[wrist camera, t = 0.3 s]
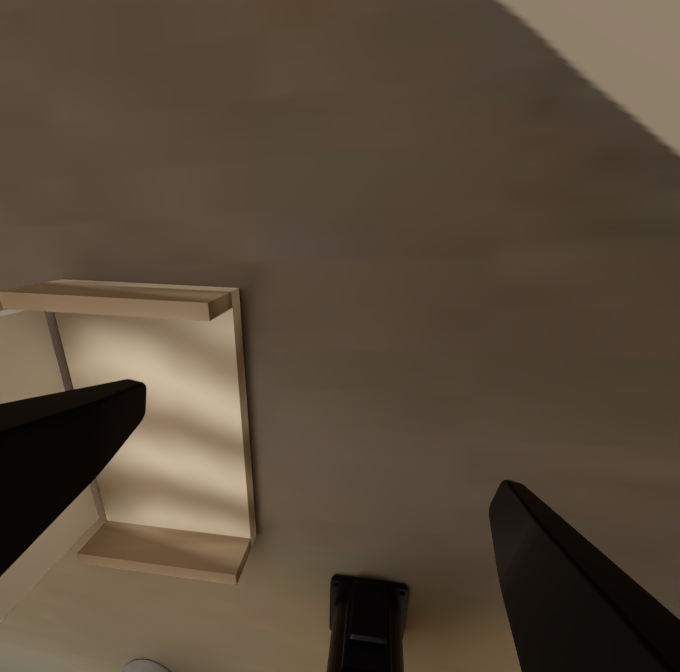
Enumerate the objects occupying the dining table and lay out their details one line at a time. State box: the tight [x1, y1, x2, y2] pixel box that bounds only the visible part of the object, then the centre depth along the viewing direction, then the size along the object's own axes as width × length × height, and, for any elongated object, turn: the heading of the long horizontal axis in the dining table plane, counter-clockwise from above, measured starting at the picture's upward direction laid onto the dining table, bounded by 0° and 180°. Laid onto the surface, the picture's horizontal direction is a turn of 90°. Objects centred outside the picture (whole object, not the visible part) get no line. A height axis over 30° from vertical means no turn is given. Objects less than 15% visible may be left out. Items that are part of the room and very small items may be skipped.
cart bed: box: [0, 279, 256, 585], centre depth 24 cm, size 21×12×4 cm, turn 179°
